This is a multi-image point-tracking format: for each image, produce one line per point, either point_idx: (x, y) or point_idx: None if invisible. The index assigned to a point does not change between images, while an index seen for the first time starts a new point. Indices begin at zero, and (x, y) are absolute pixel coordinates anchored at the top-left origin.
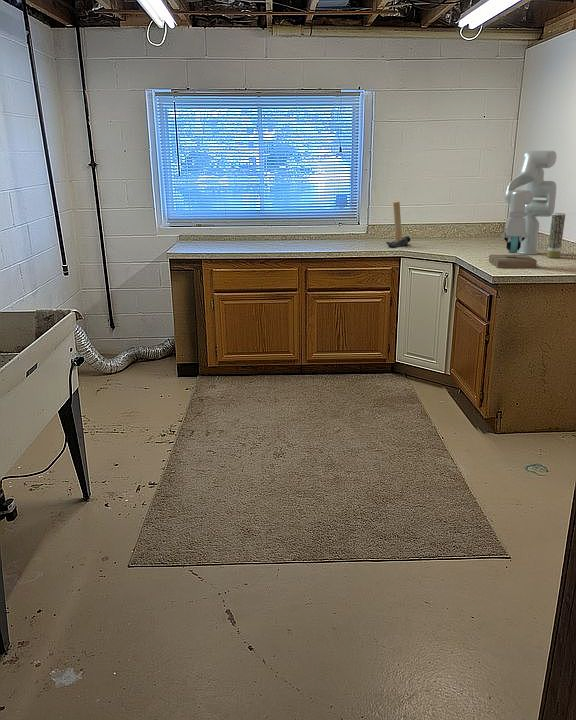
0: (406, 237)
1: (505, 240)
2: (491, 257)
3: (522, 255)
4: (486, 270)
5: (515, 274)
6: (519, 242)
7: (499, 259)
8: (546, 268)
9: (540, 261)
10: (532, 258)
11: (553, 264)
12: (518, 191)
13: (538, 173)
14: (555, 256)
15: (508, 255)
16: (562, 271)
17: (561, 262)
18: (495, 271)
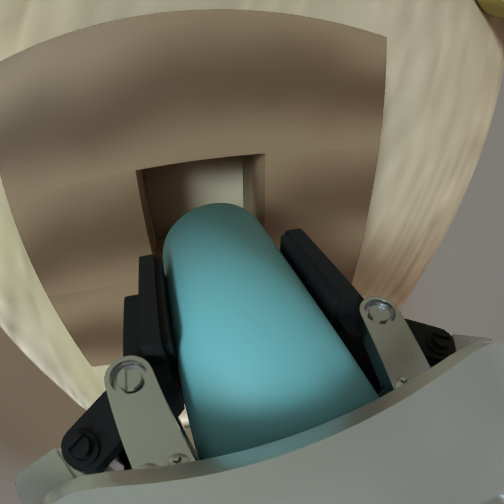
0: None
1: (95, 404)
2: (6, 168)
3: (344, 87)
4: (63, 379)
5: (185, 411)
6: None
7: (92, 338)
8: (360, 282)
9: (426, 59)
10: (355, 249)
11: (438, 165)
12: None
13: None
14: (490, 13)
15: (188, 83)
16: None
17: (477, 114)
18: (104, 390)
